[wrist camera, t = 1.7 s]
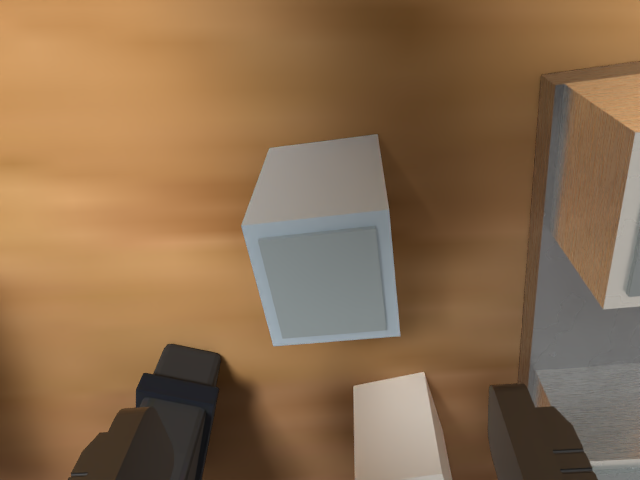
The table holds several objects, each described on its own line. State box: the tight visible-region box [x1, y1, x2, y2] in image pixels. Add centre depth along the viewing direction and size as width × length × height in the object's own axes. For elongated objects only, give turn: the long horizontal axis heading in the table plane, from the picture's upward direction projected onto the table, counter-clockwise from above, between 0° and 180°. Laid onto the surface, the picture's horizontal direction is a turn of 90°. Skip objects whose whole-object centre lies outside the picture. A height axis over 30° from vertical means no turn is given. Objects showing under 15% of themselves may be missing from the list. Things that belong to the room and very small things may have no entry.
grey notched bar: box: [518, 61, 640, 480], centre depth 21 cm, size 20×7×7 cm, turn 9°
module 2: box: [353, 372, 452, 480], centre depth 26 cm, size 5×4×6 cm
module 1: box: [241, 134, 400, 346], centre depth 19 cm, size 5×4×7 cm
